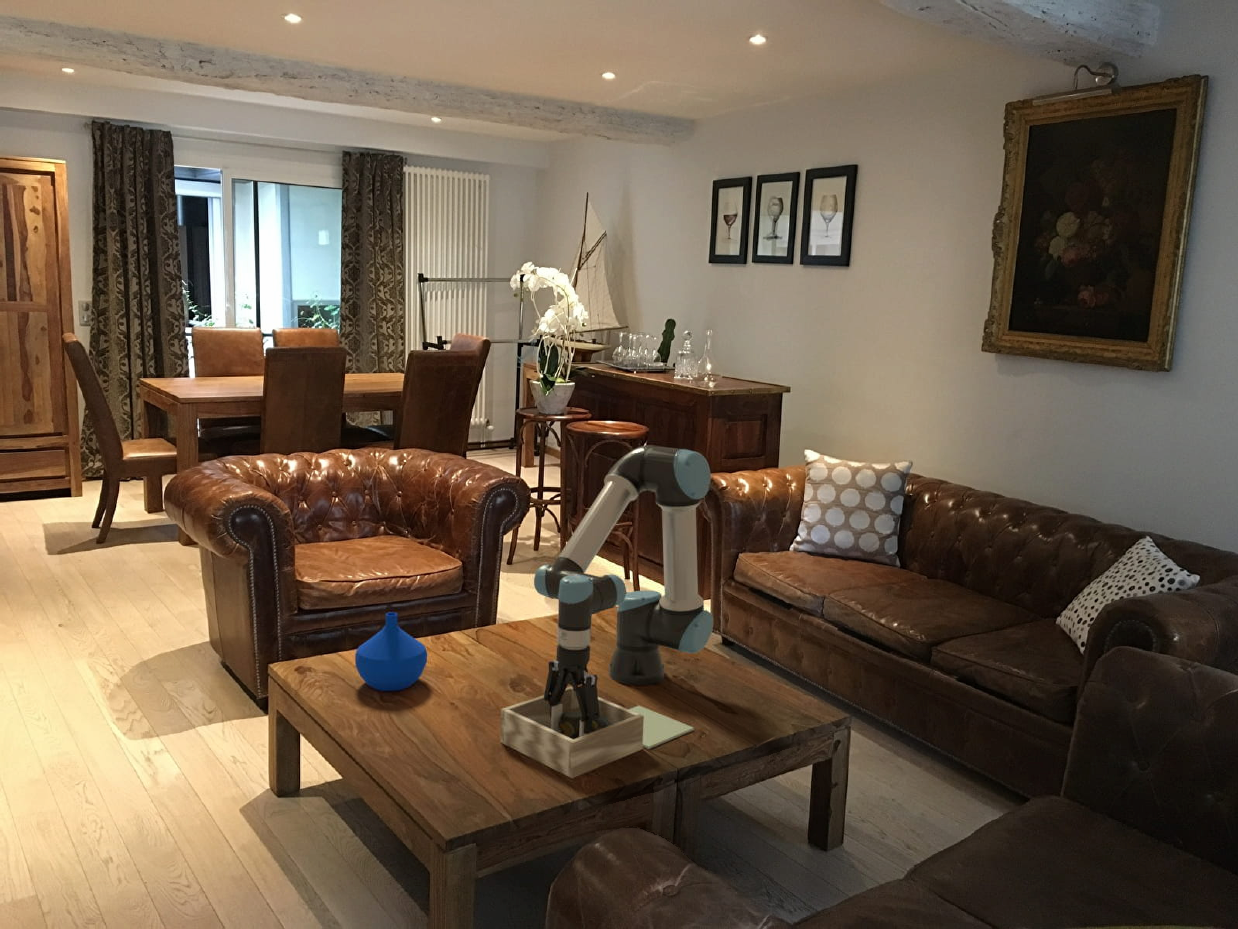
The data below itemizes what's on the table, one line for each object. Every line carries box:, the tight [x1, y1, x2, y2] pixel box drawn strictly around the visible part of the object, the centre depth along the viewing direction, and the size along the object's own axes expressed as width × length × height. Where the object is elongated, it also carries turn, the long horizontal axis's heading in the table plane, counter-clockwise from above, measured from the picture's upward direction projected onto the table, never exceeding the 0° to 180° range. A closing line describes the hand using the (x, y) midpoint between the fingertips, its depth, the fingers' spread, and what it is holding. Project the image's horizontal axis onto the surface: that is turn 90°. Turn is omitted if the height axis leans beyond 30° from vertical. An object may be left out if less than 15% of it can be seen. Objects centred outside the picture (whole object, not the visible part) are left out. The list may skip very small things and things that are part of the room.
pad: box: [629, 705, 695, 750], centre depth 245 cm, size 18×16×1 cm
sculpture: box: [558, 711, 614, 740], centre depth 234 cm, size 13×6×7 cm, turn 84°
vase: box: [354, 611, 428, 692], centre depth 265 cm, size 18×18×19 cm
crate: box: [500, 685, 644, 779], centre depth 233 cm, size 24×22×8 cm
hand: (569, 739), depth 233 cm, fingers closed on sculpture, 9 cm apart
